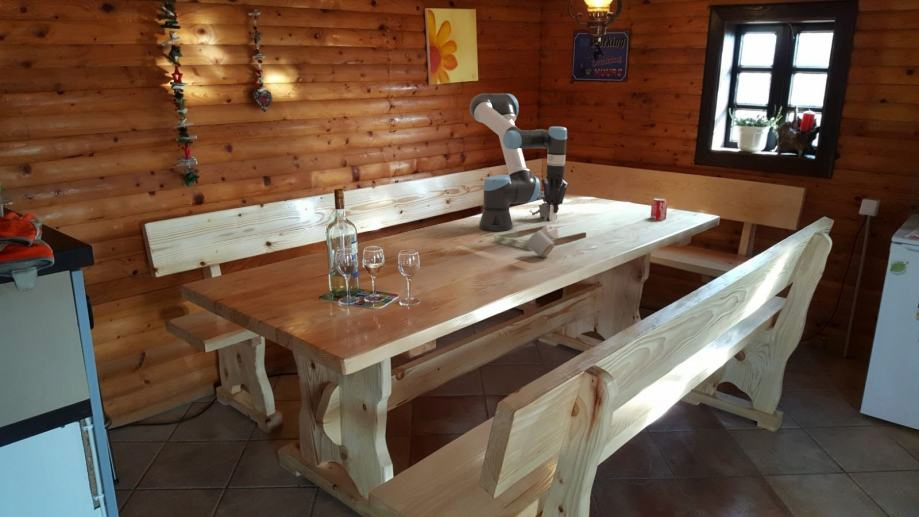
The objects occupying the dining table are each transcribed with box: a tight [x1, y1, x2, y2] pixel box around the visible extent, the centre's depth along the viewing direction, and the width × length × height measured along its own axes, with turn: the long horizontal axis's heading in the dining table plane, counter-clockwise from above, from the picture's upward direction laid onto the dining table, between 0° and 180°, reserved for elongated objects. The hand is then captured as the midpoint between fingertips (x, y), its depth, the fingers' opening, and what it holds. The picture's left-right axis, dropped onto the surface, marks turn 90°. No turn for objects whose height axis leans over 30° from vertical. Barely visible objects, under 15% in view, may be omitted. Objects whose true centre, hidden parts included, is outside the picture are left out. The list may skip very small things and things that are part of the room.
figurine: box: [530, 190, 560, 222], centre depth 318 cm, size 9×12×15 cm
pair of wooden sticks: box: [493, 225, 587, 251], centre depth 282 cm, size 21×34×2 cm, turn 133°
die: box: [540, 224, 560, 239], centre depth 278 cm, size 8×9×10 cm
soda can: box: [650, 197, 668, 221], centre depth 317 cm, size 7×7×12 cm
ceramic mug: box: [526, 230, 555, 258], centre depth 254 cm, size 11×8×8 cm
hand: (552, 219), depth 287 cm, fingers closed
